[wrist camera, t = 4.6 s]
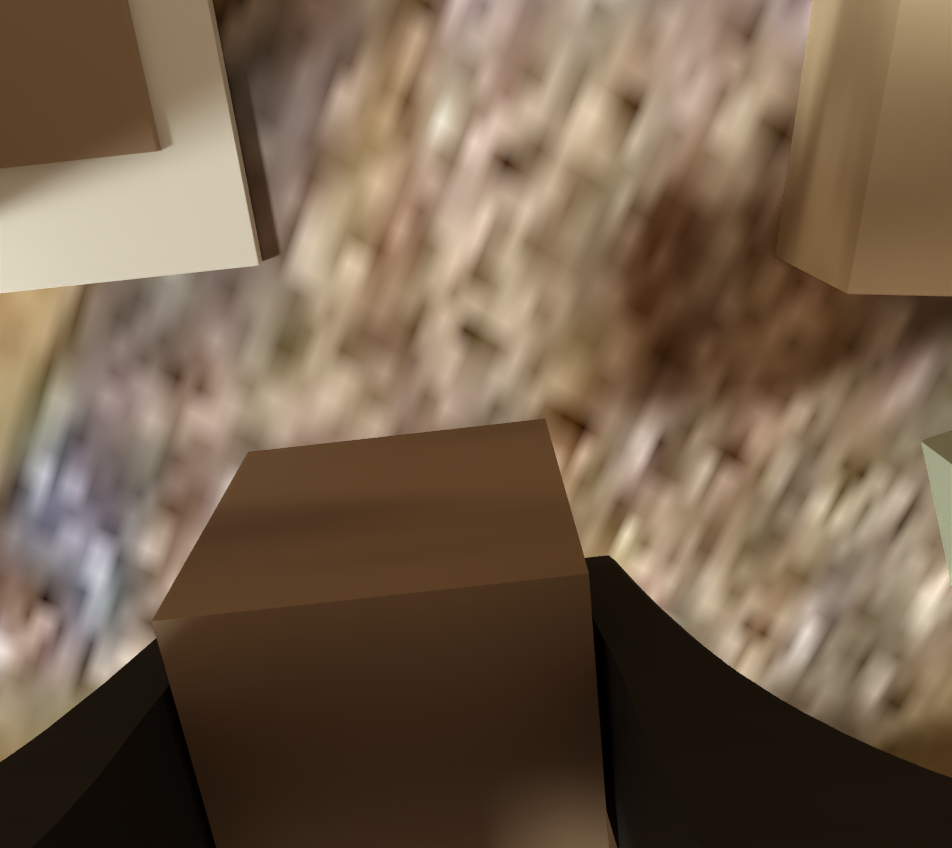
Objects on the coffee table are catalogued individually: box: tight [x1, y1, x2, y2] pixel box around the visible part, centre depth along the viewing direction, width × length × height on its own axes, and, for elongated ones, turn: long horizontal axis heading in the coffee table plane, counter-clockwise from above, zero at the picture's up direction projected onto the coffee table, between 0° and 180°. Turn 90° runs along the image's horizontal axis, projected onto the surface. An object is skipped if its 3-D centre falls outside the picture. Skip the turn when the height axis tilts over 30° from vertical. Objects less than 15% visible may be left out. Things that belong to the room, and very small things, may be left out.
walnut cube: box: [152, 419, 609, 848], centre depth 12 cm, size 4×4×4 cm
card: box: [0, 0, 262, 293], centre depth 17 cm, size 9×7×1 cm
